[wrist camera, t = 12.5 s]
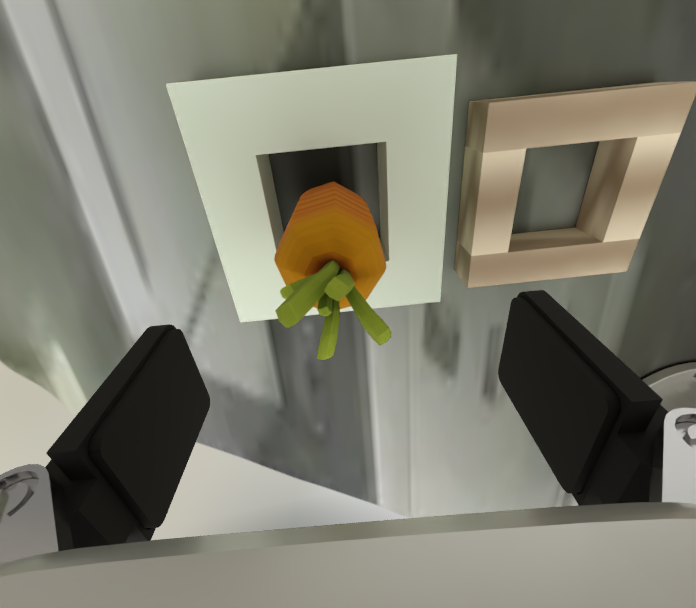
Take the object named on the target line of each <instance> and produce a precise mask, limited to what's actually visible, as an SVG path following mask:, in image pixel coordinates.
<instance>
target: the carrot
mask: <svg viewBox="0 0 696 608" xmlns="http://www.w3.org/2000/svg"><path fill="white" fill-rule="evenodd" d="M274 261H275V263H276V266H277V268H278V270H279V272H280V274H281V276H282V278H283V281H284V283H285V285H286V286H285V287H283V288H282V289H281V290H280V293H281V295H282V298H284V299H286V300H285V301H284V302H283V303H282V304H281V305H280V306H279V307H278V308H277V309H276V310H275V311H276V314H277V317H278V320H279V321H280V322H281V323H282V324H283V325H284V326H285V327H286V328H289V327H292V326H294V325H295V324H296V323H297V322H298V321H300V320H301V319H302V318H303V317H304V316H305V315H306V314H307V312H308V311H309V310H310V309H311V308H312V307H315V308H317V310H318V312H319V314H320V315H322V316H325V321H324V326H323V330H322V335H321V339H320V344H319V348H318V355H317V359H321V360H325V359H328V358H330V357H332V356H333V354H334V351H335V347H336V341H337V335H338V328H339V318H340V309H343V308H347V307H350V306H351V307H352V309H353V310H354V312H355V314H356V316H357V317H358V319H359V321H360V322H361V324H362V326H363V327H364V329H365V330H366V331H367V332H368V334H369V335H370V336H371V337H372V339H373V340H374V341H376V342H377V343H378V344H379V345H382V344H384V343H386V342H387V341H388V340H389V339H390V337H391V331H390V328H389V327H388V326H387V325H386V323H385V322H384V321H383V320H382V319H381V318H380V317H379V316H378V315H377V314H376V313H375V312H374V310H373V309H372V308H371V307H370V305H369V304H368V303H367V302H366V300H367V298H368V297H369V295H370V294H371V292H372V291H373V289H374V288H375V286H376V284H377V283H378V281H379V280H380V278H381V277H382V275H383V274H384V272H385V270H386V262H385V258H384V254H383V251H382V247H381V243H380V239H379V236H378V232H377V228H376V225H375V222H374V219H373V217H372V214H371V211H370V209H369V207H368V205H367V203H366V201H365V200H364V199H363V198H361V197H360V196H359V195H358V194H356V193H354V192H353V191H351V190H349V189H347V188H345V187H343V186H341V185H340V184H338V183H336V182H334V181H333V182H330V183H327V184H323V185H320V186H317V187H314V188H311V189H309V190H308V191H306V192H305V193H304V194H302V195H301V197H300V199H299V201H298V203H297V205H296V207H295V210H294V212H293V214H292V216H291V218H290V221H289V223H288V225H287V227H286V229H285V232H284V234H283V236H282V238H281V241H280V243H279V246H278V248H277V251H276V254H275V257H274Z"/></svg>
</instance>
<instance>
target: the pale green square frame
mask: <svg viewBox="0 0 696 608" xmlns="http://www.w3.org/2000/svg"><path fill="white" fill-rule="evenodd" d="M456 64H457V54H452V55H442V56H432V57H422V58H413V59H403V60H393V61H383V62H374V63H364V64H354V65H344V66H335V67H325V68H315V69H305V70H296V71H286V72H276V73H266V74H257V75H247V76H237V77H227V78H217V79H208V80H198V81H188V82H178V83H169V84H166V86H167V90H168V93H169V96H170V99H171V102H172V106H173V109H174V112H175V115H176V118H177V121H178V125H179V128H180V131H181V134H182V137H183V141H184V144H185V147H186V150H187V153H188V157H189V160H190V163H191V166H192V169H193V173H194V176H195V179H196V182H197V185H198V189H199V192H200V195H201V198H202V201H203V205H204V208H205V211H206V214H207V217H208V221H209V224H210V227H211V230H212V233H213V236H214V240H215V243H216V246H217V249H218V252H219V256H220V259H221V262H222V265H223V268H224V272H225V275H226V278H227V281H228V284H229V288H230V291H231V294H232V297H233V300H234V304H235V307H236V310H237V313H238V316H239V320H240V322H249V321H258V320H268V319H278V317H277V314H276V311H275V310H276V309H277V308H278V307H279V306H280V305H281V304H282V303H283V302H284V301H285V300H286V299H284V298H282V295H281V293H280V290H281V289H282V288H283V287H285V286H286V285H285V283H284V281H283V278H282V276H281V274H280V272H279V270H278V268H277V266H276V263H275V261H274V257H275V254H276V251H277V248H278V246H279V243H280V241H281V238H282V236H283V234H284V232H283V227H282V221H281V216H280V211H279V206H278V201H277V196H276V191H275V186H274V181H273V175H272V170H271V165H270V160H269V155H268V154H271V153H281V152H291V151H300V150H310V149H320V148H329V147H339V146H349V145H358V144H368V143H377V154H378V181H379V208H380V235H381V238H379V239H380V243H381V247H382V251H383V254H384V258H385V262H386V270H385V272H384V274H383V275H382V277H381V278H380V280H379V281H378V283H377V284H376V286H375V288H374V289H373V291H372V292H371V294H370V295H369V297H368V298H367V300H366V302H367V303H368V304H369V305H370V307H371V308H372V309H373V308H383V307H393V306H402V305H412V304H421V303H431V302H440V298H441V284H442V269H443V254H444V240H445V225H446V211H447V196H448V181H449V167H450V152H451V137H452V123H453V108H454V94H455V79H456ZM345 311H354V310H353V309H352V307H351V306H350V307H347V308H343V309H340V312H345ZM316 314H319V312H318V310H317V308H315V307H312V308H311V309H310V310H309V311H308V312H307V314H306V315H316ZM306 315H305V316H306Z"/></svg>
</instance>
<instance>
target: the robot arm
mask: <svg viewBox="0 0 696 608" xmlns="http://www.w3.org/2000/svg"><path fill="white" fill-rule="evenodd" d="M498 374H499V379H500V382H501V384H502V386H503V387H504V389H505V391H506V392H507V394H508V396H509V398H510V399H511V401H512V403H513V404H514V406H515V408H516V410H517V411H518V413H519V415H520V416H521V418H522V420H523V422H524V423H525V425H526V427H527V428H528V430H529V432H530V434H531V435H532V437H533V439H534V440H535V442H536V444H537V445H538V447H539V449H540V451H541V452H542V454H543V456H544V457H545V459H546V461H547V463H548V464H549V466H550V468H551V469H552V471H553V473H554V475H555V476H556V478H557V480H558V481H559V483H560V485H561V486H562V488H563V489H564V490H565V491H566V492H567V493H572V495H573V496H574V498H575V500H576V501H577V503H578V504H579V506H566V507H550V508H537V509H524V510H511V511H498V512H485V513H472V514H459V515H446V516H433V517H421V518H408V519H397V520H384V521H372V522H360V523H349V524H348V523H347V524H335V525H323V526H313V527H300V528H288V529H276V530H264V531H254V532H242V533H231V534H219V535H208V536H197V537H185V538H174V539H162V540H152V541H150V540H151V538H152V536H153V533H154V531H155V528H156V527H159V526H161V524H162V523H163V521H164V519H165V517H166V514H167V512H168V509H169V507H170V504H171V502H172V499H173V497H174V494H175V492H176V489H177V487H178V484H179V482H180V479H181V477H182V474H183V472H184V470H185V467H186V464H187V462H188V460H189V457H190V455H191V452H192V450H193V447H194V445H195V442H196V440H197V437H198V435H199V432H200V430H201V427H202V425H203V422H204V420H205V417H206V415H207V412H208V410H209V407H210V397H209V394H208V392H207V389H206V387H205V385H204V382H203V380H202V378H201V375H200V373H199V370H198V368H197V366H196V363H195V361H194V358H193V356H192V354H191V351H190V349H189V347H188V344H187V342H186V339H185V337H184V335H183V333H182V331H181V330H180V329H176V328H175V327H174V326H173V325H160V326H151V327H149V328H147V329H146V331H145V332H144V333H143V334H142V336H141V337H140V338H139V339H138V340H137V342H136V343H135V344H134V345H133V347H132V348H131V349H130V350H129V352H128V353H127V354H126V355H125V357H124V358H123V359H122V360H121V361H120V363H119V364H118V365H117V366H116V368H115V369H114V370H113V371H112V373H111V374H110V375H109V376H108V377H107V379H106V380H105V381H104V382H103V384H102V385H101V386H100V387H99V389H98V390H97V391H96V392H95V394H94V395H93V396H92V397H91V398H90V400H89V401H88V402H87V403H86V405H85V406H84V407H83V408H82V410H81V411H80V412H79V413H78V414H77V416H76V417H75V418H74V419H73V421H72V422H71V423H70V424H69V426H68V427H67V428H66V429H65V431H64V432H63V433H62V434H61V435H60V437H59V438H58V439H57V440H56V442H55V443H54V444H53V446H52V447H51V448H50V449H49V450H48V452H47V454H48V456H49V457H50V458H51V459H52V460H51V461H50V462H49V464H48V465H47V466H46V467H44V466H41V465H38V464H28V465H25V466H21V467H17V468H14V469H12V470H10V471H8V472H5V473H3V474H2V475H0V608H696V362H692V363H685V364H680V365H676V366H672V367H669V368H666V369H663V370H661V371H659V372H656V373H654V374H652V375H650V376H648V377H646V378H644V379H643V380H641V379H640V378H639V377H638V376H637V375H636V374H635V373H634V372H633V371H632V370H631V369H629V368H628V367H627V366H626V365H625V364H624V363H623V362H622V361H621V360H620V359H619V358H617V357H616V356H615V355H614V354H613V353H612V352H611V351H610V350H609V349H608V348H607V347H605V346H604V345H603V344H602V343H601V342H600V341H599V340H598V339H597V338H596V337H595V336H593V335H592V334H591V333H590V332H589V331H588V330H587V329H586V328H585V327H584V326H583V325H581V324H580V323H579V322H578V321H577V320H576V319H575V318H574V317H573V316H572V315H571V314H569V313H568V312H567V311H566V310H565V309H564V308H563V307H562V306H561V305H560V304H559V303H557V302H556V301H555V300H554V299H553V298H552V297H551V296H550V295H549V294H548V293H547V292H545V291H544V290H538V291H527V292H521V293H519V295H518V296H517V298H513V300H512V302H511V306H510V311H509V317H508V322H507V327H506V333H505V338H504V343H503V348H502V354H501V359H500V364H499V370H498Z"/></svg>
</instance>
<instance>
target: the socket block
mask: <svg viewBox="0 0 696 608" xmlns="http://www.w3.org/2000/svg"><path fill="white" fill-rule="evenodd" d="M695 95H696V81H687V82H654V83H644V84H634V85H625V86H615V87H605V88H595V89H586V90H576V91H566V92H556V93H547V94H537V95H527V96H517V97H508V98H498V99H488V100H479V101H469V109H468V120H467V131H466V142H465V154H464V165H463V176H462V187H461V199H460V210H459V221H458V232H457V244H456V255H455V266H454V270H455V271H456V273H457V274H458V275H459V277H460V278H461V280H462V281H463V282H464V284H465V285H466V287H467V288H473V287H483V286H492V285H502V284H511V283H521V282H531V281H540V280H550V279H559V278H569V277H579V276H588V275H598V274H607V273H617V272H627V269H628V266H629V264H630V261H631V259H632V256H633V254H634V251H635V249H636V246H637V243H638V241H639V238H640V236H641V233H642V231H643V228H644V226H645V223H646V220H647V218H648V215H649V213H650V210H651V208H652V205H653V203H654V200H655V197H656V195H657V192H658V190H659V187H660V185H661V182H662V179H663V177H664V174H665V172H666V169H667V167H668V164H669V162H670V159H671V156H672V154H673V151H674V149H675V146H676V144H677V141H678V139H679V136H680V133H681V131H682V128H683V126H684V123H685V121H686V118H687V116H688V113H689V110H690V108H691V105H692V103H693V100H694V98H695ZM594 141H599V145H598V149H597V152H596V156H595V159H594V163H593V166H592V170H591V174H590V177H589V181H588V184H587V188H586V191H585V195H584V199H583V202H582V206H581V209H580V213H579V216H578V220H577V224H576V227H575V228H566V229H556V230H547V231H537V232H527V233H518V234H511V232H512V226H513V221H514V215H515V209H516V204H517V198H518V192H519V187H520V181H521V176H522V170H523V164H524V159H525V153H526V149H527V148H536V147H546V146H556V145H565V144H575V143H585V142H594Z"/></svg>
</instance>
